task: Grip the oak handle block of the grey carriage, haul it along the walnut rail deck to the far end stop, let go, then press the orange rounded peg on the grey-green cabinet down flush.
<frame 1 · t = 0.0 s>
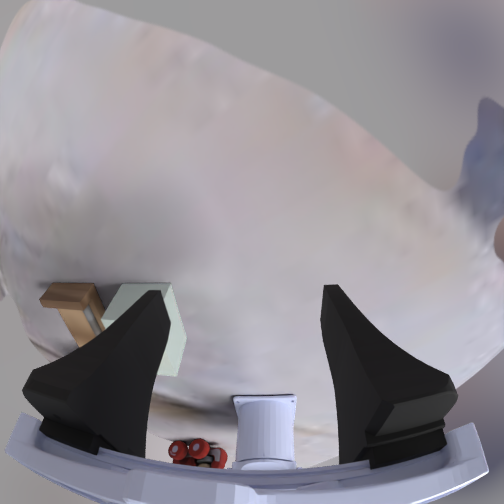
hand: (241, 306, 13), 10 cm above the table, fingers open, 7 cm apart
toy fire truck: (199, 444, 45), on the table
rail deck: (97, 334, 29), on the table
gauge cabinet: (155, 312, 27), on the table
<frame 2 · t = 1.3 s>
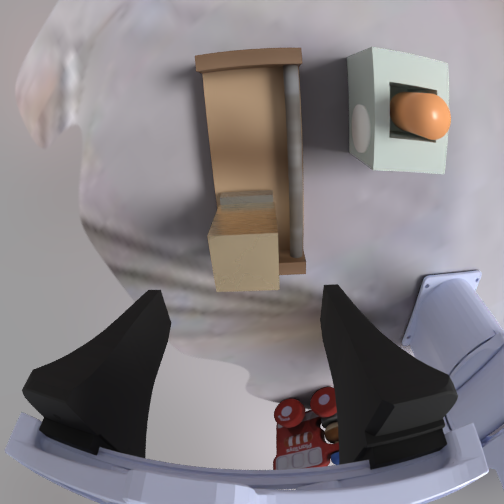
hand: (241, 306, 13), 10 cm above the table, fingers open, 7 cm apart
toy fire truck: (315, 401, 35), on the table
carriage: (247, 240, 18), point 4 cm above the table, slide at -4.0 cm
rail deck: (257, 161, 19), on the table
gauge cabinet: (381, 107, 17), on the table
orange rounded peg: (418, 113, 12), point 5 cm above the table, slide at 0.0 cm
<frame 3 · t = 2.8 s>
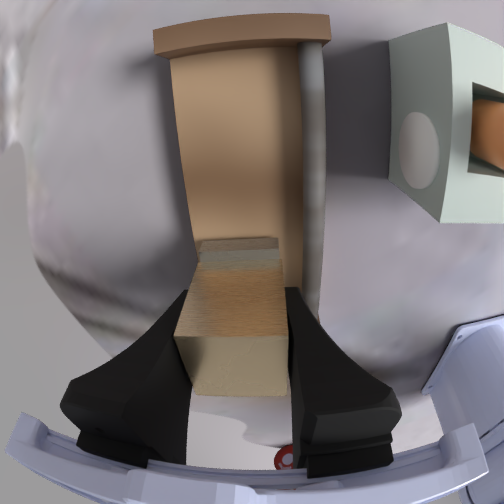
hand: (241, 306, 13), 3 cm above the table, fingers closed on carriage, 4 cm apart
toy fire truck: (319, 445, 29), on the table
carriage: (240, 319, 12), point 4 cm above the table, slide at -4.0 cm, touching gripper
rail deck: (256, 191, 13), on the table
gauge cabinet: (434, 115, 11), on the table
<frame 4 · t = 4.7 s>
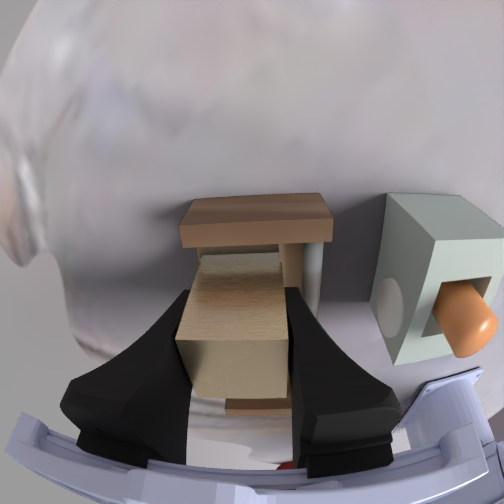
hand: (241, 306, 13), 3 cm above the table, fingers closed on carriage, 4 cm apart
carriage: (241, 322, 12), point 4 cm above the table, slide at 3.5 cm, touching gripper
rail deck: (264, 315, 17), on the table
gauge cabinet: (416, 251, 15), on the table
orange rounded peg: (462, 315, 10), point 6 cm above the table, slide at 0.0 cm
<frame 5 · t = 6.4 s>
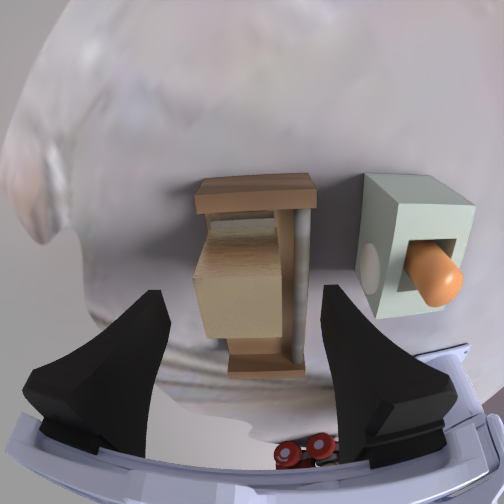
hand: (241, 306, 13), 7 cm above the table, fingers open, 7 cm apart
toy fire truck: (311, 441, 36), on the table
carriage: (243, 274, 15), point 4 cm above the table, slide at 3.5 cm
rail deck: (262, 281, 20), on the table
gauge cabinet: (394, 224, 18), on the table
orange rounded peg: (431, 271, 13), point 5 cm above the table, slide at 0.0 cm
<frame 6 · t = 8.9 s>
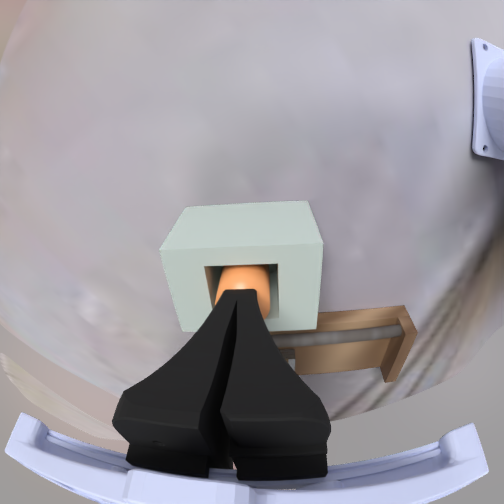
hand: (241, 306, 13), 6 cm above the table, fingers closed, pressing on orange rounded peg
carriage: (263, 392, 19), point 4 cm above the table, slide at 3.5 cm
rail deck: (308, 340, 22), on the table
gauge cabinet: (248, 241, 18), on the table
orange rounded peg: (244, 286, 14), point 4 cm above the table, slide at -1.1 cm, touching gripper
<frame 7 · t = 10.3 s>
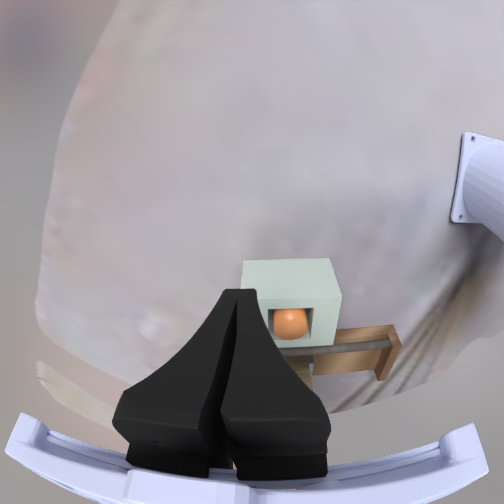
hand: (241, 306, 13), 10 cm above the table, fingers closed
carriage: (290, 387, 26), point 4 cm above the table, slide at 3.5 cm
rail deck: (321, 349, 29), on the table
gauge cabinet: (286, 283, 25), on the table
orange rounded peg: (289, 314, 21), point 4 cm above the table, slide at -1.6 cm
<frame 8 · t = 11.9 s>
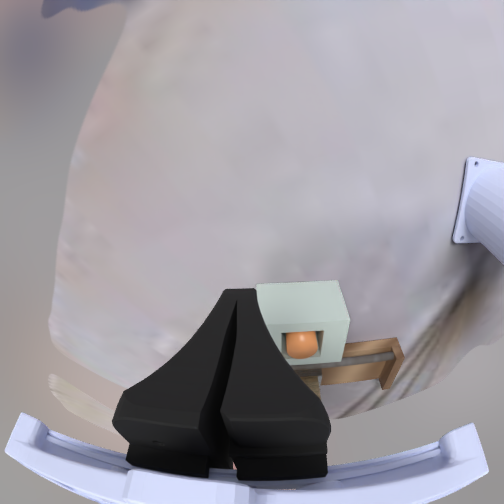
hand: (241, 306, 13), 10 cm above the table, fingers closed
carriage: (300, 398, 27), point 4 cm above the table, slide at 3.5 cm
rail deck: (329, 361, 30), on the table
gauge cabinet: (296, 304, 26), on the table
orange rounded peg: (300, 335, 22), point 4 cm above the table, slide at -1.6 cm
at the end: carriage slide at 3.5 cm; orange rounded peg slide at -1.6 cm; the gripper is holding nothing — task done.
